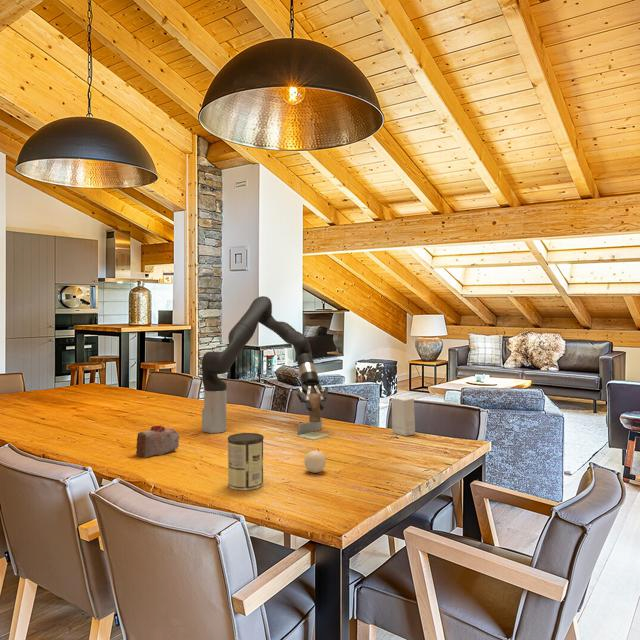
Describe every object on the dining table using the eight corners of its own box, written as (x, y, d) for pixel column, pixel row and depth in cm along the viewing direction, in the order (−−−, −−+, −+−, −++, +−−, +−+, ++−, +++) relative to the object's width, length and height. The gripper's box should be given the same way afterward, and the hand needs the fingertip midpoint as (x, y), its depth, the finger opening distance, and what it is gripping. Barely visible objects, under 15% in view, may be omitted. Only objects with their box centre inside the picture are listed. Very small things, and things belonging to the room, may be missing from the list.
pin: (314, 422, 217) (314, 395, 217) (306, 420, 221) (307, 393, 220) (322, 421, 220) (323, 394, 220) (315, 419, 224) (315, 392, 223)
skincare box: (415, 434, 223) (415, 398, 223) (404, 436, 220) (404, 399, 220) (401, 430, 230) (401, 396, 230) (390, 432, 227) (391, 397, 227)
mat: (313, 440, 213) (313, 439, 213) (296, 436, 219) (296, 435, 219) (329, 435, 221) (329, 434, 221) (312, 432, 226) (312, 431, 226)
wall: (300, 434, 222) (300, 425, 221) (297, 434, 222) (297, 424, 222) (321, 429, 232) (321, 420, 232) (319, 428, 233) (319, 419, 233)
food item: (167, 447, 200) (167, 421, 199) (180, 451, 194) (180, 424, 194) (134, 455, 189) (134, 427, 189) (147, 459, 184) (147, 430, 184)
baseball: (325, 468, 174) (325, 447, 174) (326, 475, 167) (326, 453, 167) (304, 468, 174) (304, 447, 174) (304, 475, 167) (304, 453, 167)
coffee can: (237, 478, 164) (238, 431, 164) (269, 481, 161) (269, 434, 160) (220, 488, 154) (221, 438, 154) (253, 492, 151) (253, 442, 151)
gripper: (323, 380, 234) (331, 413, 223) (290, 381, 230) (297, 415, 219) (326, 369, 229) (335, 403, 218) (293, 370, 225) (300, 405, 214)
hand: (316, 409), depth 219 cm, fingers closed on pin, 4 cm apart
